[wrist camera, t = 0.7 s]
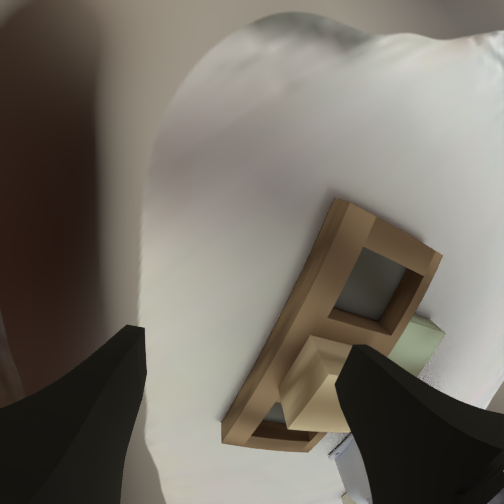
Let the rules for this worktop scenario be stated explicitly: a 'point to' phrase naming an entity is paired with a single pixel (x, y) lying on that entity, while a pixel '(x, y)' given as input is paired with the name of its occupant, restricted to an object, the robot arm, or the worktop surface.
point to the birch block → (315, 387)
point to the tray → (340, 318)
